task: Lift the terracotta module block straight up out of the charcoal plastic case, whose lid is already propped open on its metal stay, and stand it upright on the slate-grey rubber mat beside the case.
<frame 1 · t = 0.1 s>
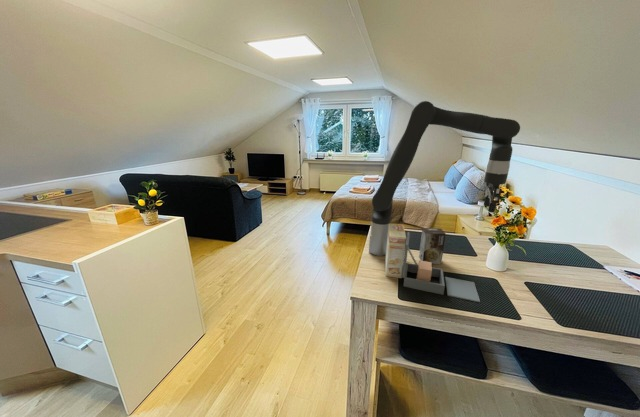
hand: (488, 209, 106), 29 cm above the table, tool pointing down, fingers open, 8 cm apart
coffeecake box: (392, 268, 116), on the table
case: (422, 281, 106), on the table
mat: (461, 289, 101), on the table
coffee box: (429, 261, 122), on the table
module: (423, 273, 105), in the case
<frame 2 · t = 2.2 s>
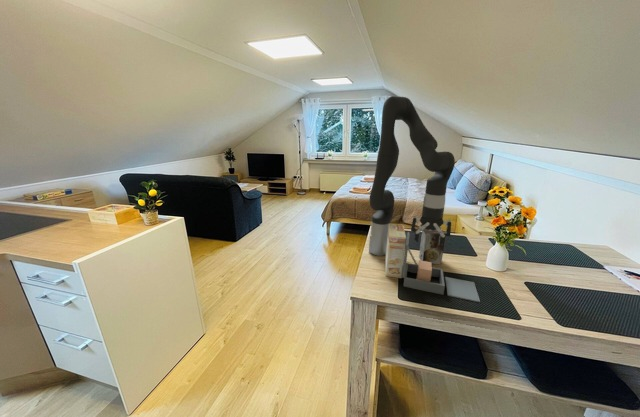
hand: (428, 243, 100), 18 cm above the table, tool pointing down, fingers open, 8 cm apart
nothing on the table moved.
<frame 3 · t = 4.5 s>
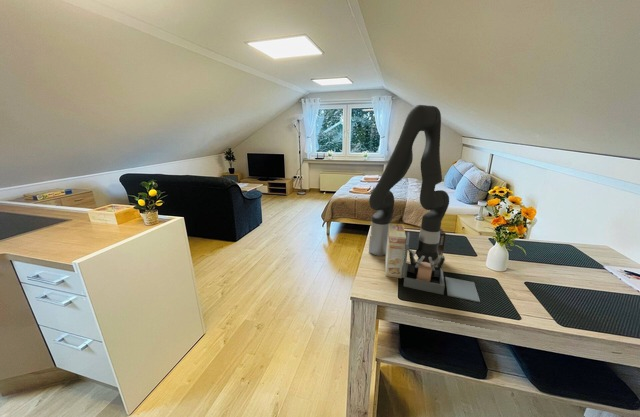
hand: (423, 275, 105), 3 cm above the table, tool pointing down, fingers closed on module, 5 cm apart
module: (423, 273, 105), in the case, touching gripper
everything else where it was.
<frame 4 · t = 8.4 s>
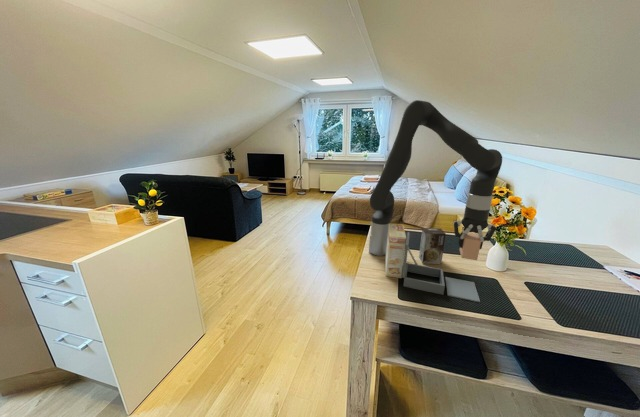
hand: (469, 248, 95), 19 cm above the table, tool pointing down, fingers closed on module, 5 cm apart
module: (469, 245, 94), point 20 cm above the table, touching gripper
everything else where it was.
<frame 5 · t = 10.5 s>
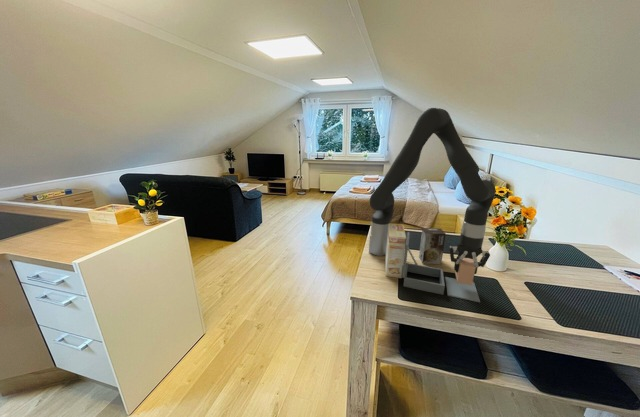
hand: (464, 272, 98), 8 cm above the table, tool pointing down, fingers closed on module, 5 cm apart
module: (465, 270, 98), point 9 cm above the table, touching gripper
everything else where it was.
when the fingers open (5 cm above the table, at t = 12.3 s): module drops 1 cm, resting on mat.
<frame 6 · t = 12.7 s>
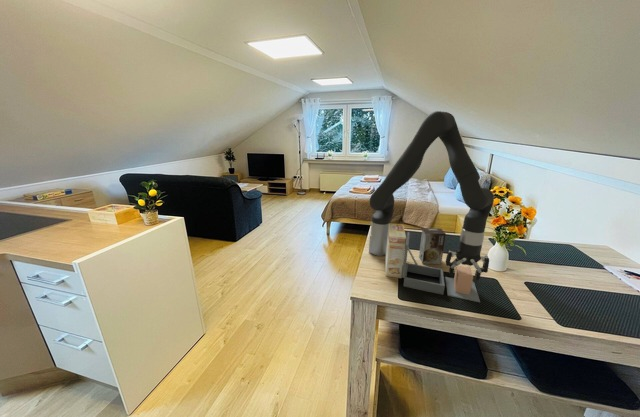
hand: (463, 277, 99), 6 cm above the table, tool pointing down, fingers open, 8 cm apart
module: (462, 279, 99), on the mat
everything else where it was.
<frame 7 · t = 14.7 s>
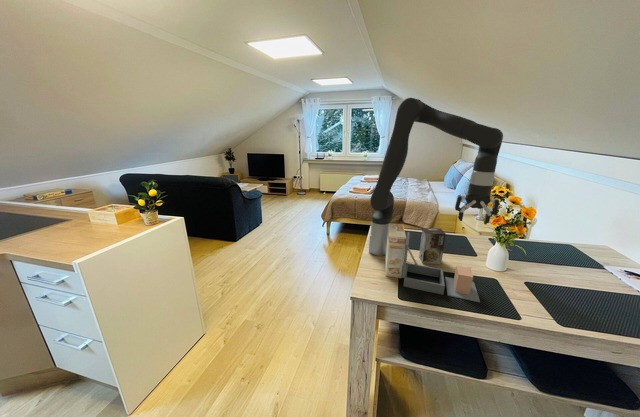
hand: (472, 222, 100), 26 cm above the table, tool pointing down, fingers open, 8 cm apart
nothing on the table moved.
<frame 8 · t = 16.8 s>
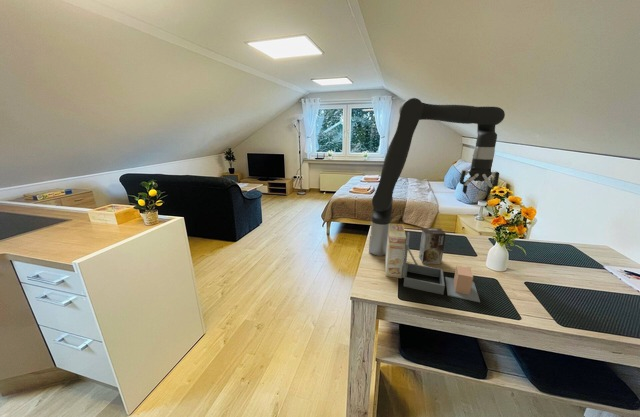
hand: (475, 194, 111), 34 cm above the table, tool pointing down, fingers open, 8 cm apart
nothing on the table moved.
at the end: module inside the target area (0.1 cm from its centre), point 4.5 cm above the table; module tilted 0°; the gripper is holding nothing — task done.
